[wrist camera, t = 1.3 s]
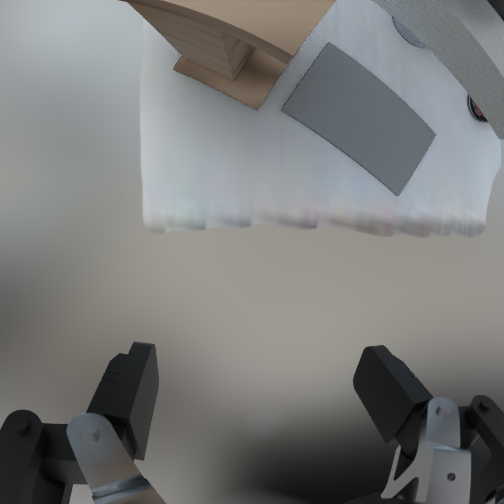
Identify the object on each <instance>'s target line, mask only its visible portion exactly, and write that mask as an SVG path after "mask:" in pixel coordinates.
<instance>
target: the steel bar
mask: <svg viewBox="0 0 504 504" xmlns="http://www.w3.org/2000/svg"><path fill="white" fill-rule="evenodd" d="M372 1H374V2H375V3H376V4H378V5H379V6H380V7H382V8H383V9H384V10H386V11H387V12H388V13H390V14H391V15H392V16H393V17H395V18H396V19H397V20H398V21H399V22H401V23H402V24H403V25H404V26H405V27H406V28H408V29H409V30H410V31H411V32H412V33H413V34H414V35H415V36H416V37H417V38H419V39H420V40H421V41H422V42H423V43H424V44H425V45H426V46H427V47H428V48H429V49H430V50H431V51H432V52H433V53H434V54H435V55H436V56H437V57H438V58H439V59H440V61H441V62H442V63H443V64H444V65H445V66H446V67H447V68H448V69H449V71H450V72H451V73H452V74H453V75H454V76H455V78H456V79H457V80H458V81H459V82H460V84H461V85H462V86H463V87H464V89H465V90H466V91H467V92H468V94H469V95H470V96H471V98H472V99H473V100H474V102H475V103H476V105H477V106H478V107H479V109H480V110H481V112H482V113H483V115H484V116H485V118H486V119H487V121H488V122H489V124H490V125H491V127H492V128H493V130H494V132H495V133H496V135H497V137H498V138H499V139H503V140H504V21H503V20H502V19H501V17H500V16H499V15H498V13H497V12H496V11H495V10H494V8H493V7H492V6H491V5H490V4H489V2H488V1H487V0H372Z"/></svg>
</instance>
